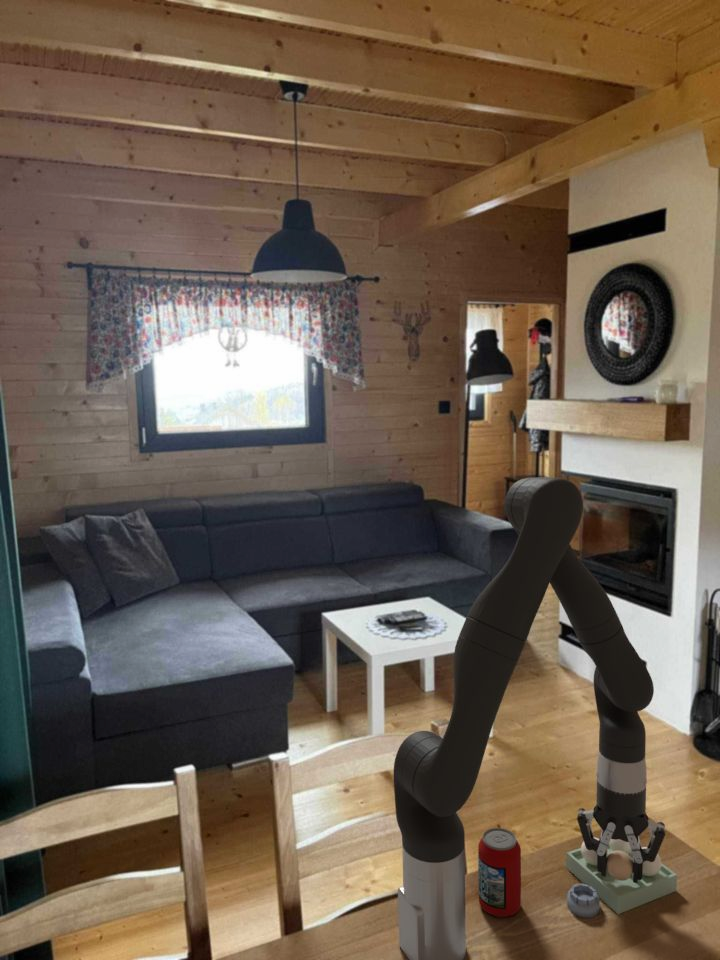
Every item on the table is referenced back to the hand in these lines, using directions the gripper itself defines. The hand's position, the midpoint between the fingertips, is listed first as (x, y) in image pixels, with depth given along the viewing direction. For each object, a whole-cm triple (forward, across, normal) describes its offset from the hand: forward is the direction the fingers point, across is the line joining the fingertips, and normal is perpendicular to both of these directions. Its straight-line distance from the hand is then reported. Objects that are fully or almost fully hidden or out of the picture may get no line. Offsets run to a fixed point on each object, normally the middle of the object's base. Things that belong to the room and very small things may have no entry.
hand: (619, 876), depth 121 cm
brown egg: (0, 0, 0) cm, 0 cm away
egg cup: (+3, +5, +5) cm, 8 cm away
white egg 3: (+1, -4, -4) cm, 6 cm away
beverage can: (+4, +18, +9) cm, 20 cm away
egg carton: (+3, 0, -4) cm, 6 cm away
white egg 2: (+1, 0, -8) cm, 9 cm away
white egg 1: (+1, +4, -4) cm, 6 cm away
